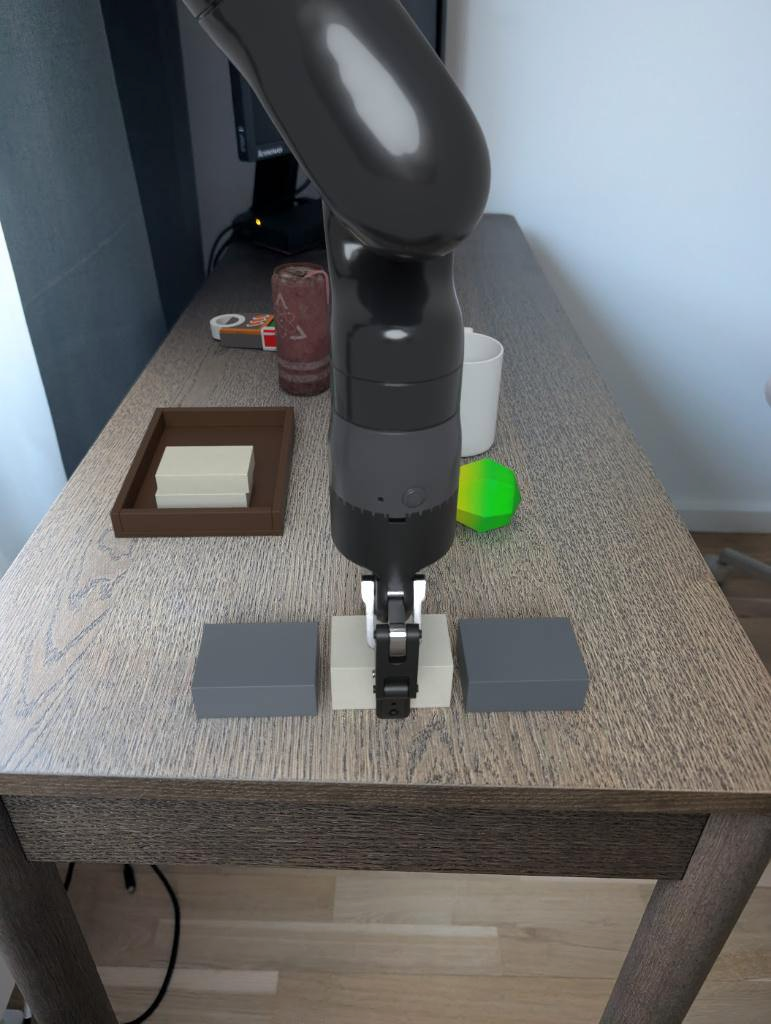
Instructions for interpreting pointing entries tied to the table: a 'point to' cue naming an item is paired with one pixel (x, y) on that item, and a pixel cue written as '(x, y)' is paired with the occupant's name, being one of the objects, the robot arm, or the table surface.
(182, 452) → the cream layered block
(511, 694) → the pair of grey blocks
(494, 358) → the mug
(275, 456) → the tray
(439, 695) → the cream rectangular block
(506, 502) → the apple
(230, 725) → the table surface
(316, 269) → the can
